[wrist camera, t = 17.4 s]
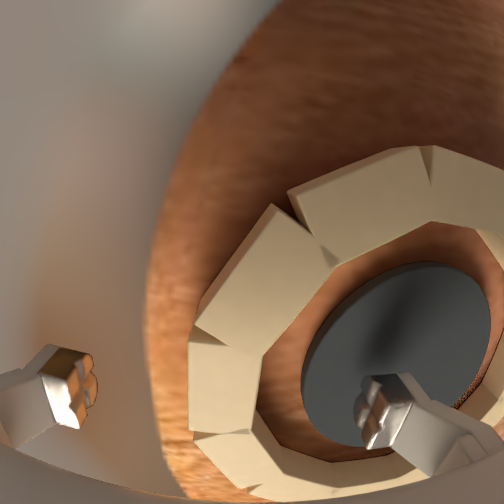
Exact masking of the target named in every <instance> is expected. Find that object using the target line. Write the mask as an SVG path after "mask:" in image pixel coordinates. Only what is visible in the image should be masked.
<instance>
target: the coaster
mask: <svg viewBox="0 0 504 504" xmlns="http://www.w3.org/2000/svg"><path fill="white" fill-rule="evenodd" d="M490 329H491V318H490V310H489V305H488V301H487V299H486V297H485V294H484V292H483V291H482V289H481V288H480V286H479V285H478V283H477V282H476V281H475V280H474V279H473V278H472V277H470V276H469V275H467V274H466V273H464V272H463V271H461V270H459V269H457V268H455V267H453V266H450V265H448V264H444V263H439V262H417V263H410V264H406V265H403V266H399V267H396V268H394V269H391V270H389V271H387V272H384V273H382V274H380V275H378V276H377V277H375V278H373V279H371V280H370V281H368V282H366V283H365V284H364V285H362V286H361V287H360V288H358V289H357V290H355V291H354V292H353V293H352V294H351V295H349V296H348V297H347V298H346V299H345V300H344V301H343V302H342V303H341V304H340V305H339V306H338V307H337V308H336V309H335V310H334V311H333V312H332V313H331V315H330V316H329V317H328V318H327V320H326V321H325V322H324V324H323V325H322V326H321V328H320V329H319V331H318V333H317V335H316V336H315V338H314V340H313V341H312V343H311V346H310V348H309V350H308V353H307V355H306V358H305V361H304V365H303V368H302V375H301V394H302V399H303V404H304V407H305V411H306V413H307V416H308V418H309V420H310V421H311V423H312V424H313V426H314V427H315V428H316V429H317V430H318V431H319V432H320V433H321V434H322V435H324V436H325V437H327V438H328V439H330V440H332V441H335V442H337V443H340V444H344V445H348V446H355V447H365V444H364V442H363V440H362V437H361V432H362V430H363V429H361V428H360V427H358V426H357V425H356V423H355V421H354V417H353V405H354V402H355V399H356V397H357V396H358V395H359V394H360V393H361V392H362V389H361V387H360V385H361V382H362V379H363V378H364V377H365V376H367V375H383V374H393V373H399V372H409V373H411V375H412V376H413V377H414V378H415V380H416V381H417V382H418V384H419V385H420V386H421V388H422V389H423V390H424V391H425V393H426V394H427V395H428V397H429V398H430V399H431V400H437V401H439V402H441V403H443V404H445V405H447V406H449V407H452V406H453V405H454V404H455V403H456V402H457V401H458V400H459V398H460V397H461V396H462V395H463V394H464V392H465V391H466V390H467V388H468V387H469V385H470V384H471V383H472V381H473V379H474V378H475V376H476V374H477V372H478V370H479V368H480V366H481V364H482V362H483V359H484V356H485V354H486V350H487V347H488V343H489V337H490Z"/></svg>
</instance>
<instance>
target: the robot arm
mask: <svg viewBox="0 0 504 504" xmlns="http://www.w3.org/2000/svg"><path fill="white" fill-rule="evenodd" d="M93 367H94V364H93V358H92V356H91V355H90V354H87V353H83V352H79V351H75V350H71V349H67V348H63V347H59V346H55V345H51V344H49V345H46V346H45V347H44V348H43V349H42V350H41V351H40V352H39V353H38V354H37V355H36V356H35V357H34V358H33V359H32V360H31V361H30V362H29V363H28V365H26V367H25V368H24V369H23V370H22V369H16V370H13V371H10V372H7V373H4V374H1V375H0V504H504V441H503V440H502V439H501V438H500V436H499V435H498V434H497V433H496V431H495V430H494V429H493V428H492V427H491V426H490V425H488V424H486V423H484V422H482V421H479V420H477V419H475V418H473V417H471V416H468V415H466V414H464V413H462V412H460V411H458V410H456V409H453V408H451V407H449V406H447V405H445V404H443V403H441V402H439V401H437V400H431V399H430V398H429V397H428V395H427V394H426V393H425V391H424V390H423V389H422V388H421V386H420V385H419V384H418V382H417V381H416V380H415V378H414V377H413V376H412V375H411V373H409V372H399V373H393V374H383V375H367V376H365V377H364V378H363V379H362V382H361V385H360V387H361V389H362V392H361V393H360V394H359V395H358V396H357V397H356V399H355V402H354V405H353V417H354V421H355V423H356V425H357V426H358V427H360V428H361V429H363V430H362V432H361V437H362V440H363V442H364V444H365V447H366V449H367V450H368V449H377V448H384V447H391V446H392V447H391V448H392V449H393V450H395V451H396V452H397V453H398V454H400V455H401V456H402V457H404V458H405V459H406V460H407V461H409V462H410V463H411V464H413V465H414V466H415V467H416V468H418V469H419V470H420V471H422V472H423V473H424V474H426V475H427V476H428V477H430V478H427V479H424V480H420V481H417V482H413V483H409V484H405V485H401V486H397V487H393V488H388V489H384V490H379V491H374V492H369V493H363V494H357V495H351V496H345V497H337V498H329V499H320V500H309V501H295V502H267V503H253V502H225V501H211V500H200V499H190V498H182V497H175V496H168V495H162V494H156V493H150V492H145V491H140V490H135V489H131V488H126V487H122V486H118V485H114V484H110V483H106V482H103V481H99V480H95V479H92V478H89V477H85V476H82V475H79V474H76V473H73V472H70V471H67V470H64V469H61V468H59V467H56V466H53V465H51V464H48V463H45V462H43V461H40V460H38V459H36V458H33V457H30V456H29V455H26V454H24V453H22V452H20V451H17V450H15V449H16V448H17V447H19V446H21V445H23V444H24V443H26V442H28V441H29V440H31V439H32V438H34V437H36V436H38V435H39V434H41V433H42V432H44V431H45V430H47V429H49V428H50V427H52V426H54V425H55V424H56V423H59V424H63V425H66V426H69V427H73V428H77V429H81V427H82V425H83V423H84V421H85V419H86V418H87V416H88V415H87V411H86V409H88V408H90V407H92V406H93V405H94V403H95V401H96V397H97V392H98V384H97V378H96V377H95V375H94V374H93V373H92V372H91V370H92V369H93Z"/></svg>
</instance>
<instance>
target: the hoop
mask: <svg viewBox="0 0 504 504" xmlns="http://www.w3.org/2000/svg"><path fill="white" fill-rule="evenodd" d="M287 195H288V197H289V200H290V202H291V204H292V207H293V209H294V211H295V214H296V216H297V219H298V221H299V223H298V222H297V221H296V220H294V219H293V218H292V217H290V216H289V215H288V214H286V213H285V212H284V211H282V210H281V209H280V208H278V207H277V206H275V205H274V204H272V203H271V204H270V205H269V206H268V208H267V209H266V210H265V212H264V213H263V214H262V216H261V217H260V219H259V220H258V221H257V223H256V224H255V225H254V227H253V228H252V229H251V231H250V232H249V233H248V235H247V236H246V238H245V239H244V240H243V242H242V243H241V244H240V246H239V247H238V249H237V250H236V251H235V253H234V254H233V255H232V257H231V258H230V259H229V261H228V262H227V264H226V265H225V266H224V268H223V269H222V270H221V272H220V273H219V275H218V276H217V277H216V279H215V280H214V281H213V283H212V284H211V286H210V287H209V288H208V290H207V291H206V293H205V294H204V295H203V297H202V298H201V300H200V303H199V307H198V310H197V314H196V316H195V318H194V321H193V325H192V328H191V332H190V335H189V339H188V369H187V389H188V429H189V430H190V431H194V437H193V441H194V443H195V444H196V445H197V446H198V447H199V448H200V449H201V450H202V452H203V453H204V454H205V455H206V456H207V457H208V458H209V459H210V460H211V461H212V462H213V463H214V464H215V465H216V467H217V468H218V469H219V470H220V471H221V472H222V473H223V474H224V475H225V476H226V477H227V478H228V479H229V480H230V481H231V482H232V483H233V484H234V485H235V486H236V487H237V488H238V489H241V488H245V487H247V491H248V494H251V495H254V496H258V497H261V498H265V499H269V500H273V501H277V502H295V501H309V500H320V499H329V498H337V497H345V496H351V495H357V494H363V493H369V492H374V491H379V490H384V489H388V488H393V487H397V486H401V485H405V484H409V483H413V482H417V481H420V480H424V479H427V478H430V477H428V476H427V475H426V474H424V473H423V472H422V471H420V470H419V469H418V468H416V467H415V466H414V465H413V464H411V463H410V462H409V461H407V460H406V459H405V458H404V457H402V456H401V455H400V454H398V453H397V452H396V451H395V452H393V453H391V454H389V455H387V456H381V457H375V458H368V459H361V460H353V461H345V462H335V463H329V462H326V461H323V460H320V459H317V458H314V457H311V456H308V455H305V454H302V453H299V452H296V451H293V450H291V449H288V448H285V447H283V446H280V445H279V443H278V442H277V440H276V439H275V437H274V436H273V434H272V433H271V431H270V430H269V428H268V427H267V425H266V424H265V422H264V421H263V419H262V418H261V416H260V415H259V413H258V412H257V410H256V409H255V407H256V400H257V394H258V388H259V381H260V375H261V368H262V361H263V355H264V354H265V353H266V352H267V350H268V349H269V348H270V347H271V346H272V345H273V344H274V342H275V341H276V340H277V339H278V338H279V337H280V335H281V334H282V333H283V332H284V331H285V330H286V328H287V327H288V326H289V325H290V324H291V323H292V321H293V320H294V319H295V318H296V317H297V315H298V314H299V313H300V312H301V311H302V309H303V308H304V307H305V306H306V304H307V303H308V302H309V301H310V300H311V298H312V297H313V296H314V295H315V293H316V292H317V291H318V290H319V288H320V287H321V286H322V285H323V283H324V282H325V281H326V280H327V278H328V277H329V276H330V275H331V273H332V272H333V271H334V269H335V268H336V267H337V266H339V265H341V264H344V263H346V262H348V261H350V260H352V259H354V258H356V257H359V256H361V255H363V254H365V253H367V252H369V251H371V250H373V249H375V248H377V247H380V246H382V245H384V244H386V243H388V242H390V241H392V240H394V239H396V238H398V237H400V236H402V235H404V234H406V233H408V232H410V231H412V230H414V229H416V228H418V227H420V226H422V225H424V224H426V223H428V222H430V221H436V222H441V223H446V224H451V225H457V226H462V227H467V228H472V229H475V230H476V232H477V233H478V234H479V236H480V237H481V238H482V240H483V241H484V242H485V244H486V245H487V247H488V248H489V249H490V251H491V252H492V254H493V255H494V257H495V258H496V259H497V261H498V262H499V264H500V265H501V267H502V268H503V270H504V170H502V169H499V168H497V167H494V166H492V165H489V164H487V163H484V162H482V161H479V160H476V159H474V158H471V157H468V156H465V155H463V154H460V153H457V152H454V151H451V150H448V149H445V148H442V147H439V146H435V145H432V146H419V147H418V146H407V147H398V148H390V149H387V150H385V151H382V152H380V153H377V154H375V155H372V156H370V157H367V158H365V159H362V160H360V161H357V162H355V163H352V164H350V165H347V166H345V167H342V168H340V169H337V170H335V171H332V172H330V173H328V174H325V175H323V176H320V177H318V178H316V179H313V180H311V181H308V182H306V183H304V184H301V185H299V186H297V187H294V188H292V189H290V190H288V191H287ZM458 411H460V412H462V413H464V414H466V415H468V416H471V417H473V418H475V419H477V420H479V421H482V422H484V423H486V424H488V425H490V426H491V427H492V428H493V427H494V426H495V425H496V424H497V423H498V422H499V421H500V420H501V418H502V417H503V416H504V331H503V334H502V336H501V339H500V342H499V344H498V347H497V349H496V351H495V354H494V356H493V359H492V361H491V363H490V365H489V368H488V370H487V372H486V374H485V376H484V379H483V381H482V383H481V384H480V385H479V386H478V387H477V389H476V390H475V391H474V392H473V393H472V394H471V396H470V397H469V398H468V399H467V400H466V401H465V402H464V403H463V404H462V405H461V406H460V408H459V409H458Z"/></svg>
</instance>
